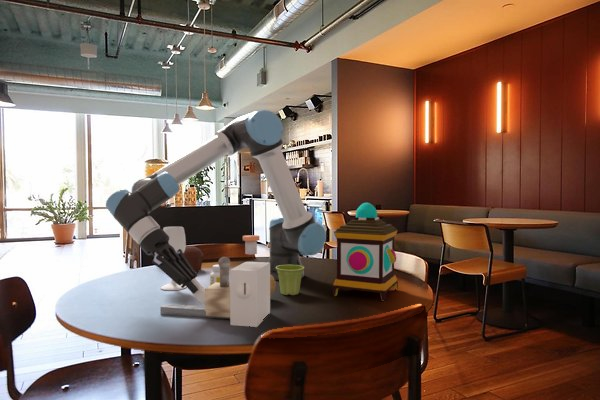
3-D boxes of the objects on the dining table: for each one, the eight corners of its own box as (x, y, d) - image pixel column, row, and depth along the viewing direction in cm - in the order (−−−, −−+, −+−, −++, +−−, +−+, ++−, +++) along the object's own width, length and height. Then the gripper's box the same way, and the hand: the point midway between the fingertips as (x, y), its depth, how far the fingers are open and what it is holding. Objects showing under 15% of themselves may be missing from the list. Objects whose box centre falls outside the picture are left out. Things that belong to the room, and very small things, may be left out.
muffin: (199, 273, 167) (199, 249, 166) (172, 273, 167) (172, 248, 166) (206, 267, 178) (206, 245, 178) (181, 267, 179) (181, 244, 178)
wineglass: (179, 291, 137) (178, 228, 137) (155, 290, 139) (155, 228, 139) (191, 285, 146) (190, 226, 145) (168, 284, 148) (168, 225, 147)
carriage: (205, 316, 108) (204, 258, 107) (215, 308, 114) (215, 254, 114) (233, 318, 106) (233, 259, 106) (243, 310, 113) (243, 255, 112)
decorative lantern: (347, 283, 149) (348, 201, 149) (402, 289, 141) (403, 202, 140) (326, 296, 131) (327, 202, 131) (388, 304, 123) (389, 203, 122)
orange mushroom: (240, 254, 106) (240, 236, 106) (245, 252, 111) (245, 235, 111) (256, 255, 106) (256, 237, 105) (261, 252, 110) (261, 235, 110)
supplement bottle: (230, 294, 134) (230, 264, 133) (222, 298, 129) (222, 267, 128) (215, 293, 135) (215, 263, 135) (207, 297, 130) (206, 266, 130)
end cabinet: (229, 326, 103) (229, 270, 102) (246, 311, 115) (246, 261, 115) (255, 328, 101) (255, 271, 101) (270, 312, 114) (270, 262, 113)
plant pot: (290, 288, 142) (290, 263, 142) (310, 293, 135) (310, 267, 135) (269, 293, 135) (269, 266, 135) (289, 298, 129) (289, 271, 128)
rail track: (160, 314, 112) (160, 306, 112) (166, 311, 115) (166, 303, 115) (236, 319, 108) (236, 311, 108) (240, 316, 111) (240, 308, 111)
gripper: (154, 242, 121) (207, 302, 118) (127, 249, 108) (185, 316, 105) (170, 225, 120) (224, 285, 117) (145, 229, 107) (205, 296, 104)
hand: (206, 299), depth 111 cm, fingers closed
